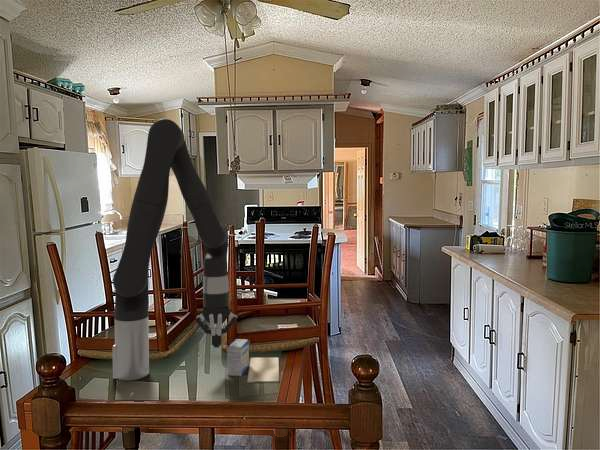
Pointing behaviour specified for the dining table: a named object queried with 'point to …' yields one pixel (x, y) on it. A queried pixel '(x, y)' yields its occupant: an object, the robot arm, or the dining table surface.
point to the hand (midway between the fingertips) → (217, 346)
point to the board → (263, 370)
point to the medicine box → (238, 357)
